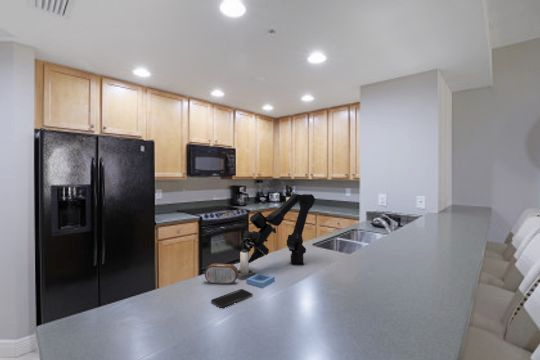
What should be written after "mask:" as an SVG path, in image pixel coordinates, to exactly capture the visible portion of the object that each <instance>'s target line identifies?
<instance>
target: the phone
mask: <svg viewBox="0 0 540 360" xmlns="http://www.w3.org/2000/svg"><path fill="white" fill-rule="evenodd" d="M253 296H254V294H253V293H252V292H250V291H248V290H245V289H243V288H242V289H241V288H240V289H237V290H234V291H231V292H229V293H226V294H223V295H220V296H218V297H215V298H212V299H211V301H210V302H211V304H212V305H214V306H215V305H216V306H215V307H217V308H218V307H219V308H218V309H220V308H223V309H225V307H226V308H228V306H229V307H230V305H231V306H233V305H235V304H234V303H236V304H238V303H240V302H243V301H246V300H248V299H250V297H251V298H253ZM232 304H233V305H232Z"/></svg>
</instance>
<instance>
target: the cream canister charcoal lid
mask: <svg viewBox="0 0 540 360" xmlns="http://www.w3.org/2000/svg"><path fill="white" fill-rule="evenodd" d="M241 250H242V249H241ZM241 250H240V253H239V255H240V258H239V260H240V261H239V262H240V268H239V270H240V274H241V275H244V274H248V273H249V269H250V267H249V266H250V265H249V264H250V263H248V260H249V259H250V256H249V255H250V253H249V252H250V251H249V252H248V251H247V250H246V249H243V250H242V251H241Z"/></svg>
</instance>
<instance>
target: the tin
mask: <svg viewBox="0 0 540 360" xmlns="http://www.w3.org/2000/svg"><path fill="white" fill-rule="evenodd" d="M238 270H239V269H238V268H237V267H236V266H235V265H234V264H232V263H231V264H230V263H211V264H209V265H208V266H207V267H206V268H205V271H204V279H205V280H206V281H207V282H208V283H210V284H217V285H218V284H221V285H231V284H234V283H235V281H237V279H239V278H238Z"/></svg>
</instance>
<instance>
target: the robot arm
mask: <svg viewBox="0 0 540 360" xmlns="http://www.w3.org/2000/svg"><path fill="white" fill-rule="evenodd" d="M315 201H316V198H315V196H314V195H313V194H312V193H310V194H309V193H303V194H300V193H292V194H291V195H290V197H289V198H288V199H287V200H286V201H285V202H283V204H282V205H281V206H279V208H278V209H276V210H274V211H271V213H269V214H268V215H267V216H264V215H263V213H262V212H261V211H257V212H255V213H254V214H252V215H251V216H250V218H249V222H250V223H251V224H252V225H253V226H254V227H255V228H256V229H258V231H255V230H252V231H249V230H246V229H245V230H244V232H243V238H241V240H240V243H241V246H242V247H241V250H240V252H241V251H242V250H243V249H246V250H247V251H248V252H250V251H252V250H253V252H252V254H251V255H250V256H249V260H248V263H249V264H251V263H253V262H255V261H256V260H258V259H260V258H262V257H265V256H268V255H269V253H270V250H269V248H268V247H267V246H266V245H265V244H264V243H265V242H266V243H267V242H268V241H269V240H268V238H269V237H270V235H271V234H272V233H273V234H276V233H277V230H276V227H278V226H280V225H281V224H282V223H283V221H284V220H285V216H286V215H287V214H288V213H289V212H290V211H291V210H292V208H293V207H295V205H297V203H298V205H299V211H298V213H297V214H298V215H297V218H296V221H295V225H294V229H293V232H292V233H291V234H288V235H287V239H286V246H287V248H288V251H289V252H291V254H290V263H291V265H293V266H303V265H305V264H304V254H306V252H307V248H306V247H305V246H304V245H303V243H304V239H303V231H304V228H305V225H306V222H307V217H308V214H309V211H310V210H311V209H312V207H313V206H314V204H315ZM273 226H275V227H273ZM251 249H252V250H251ZM238 258H239V259H240V254H239V256H238Z"/></svg>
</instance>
